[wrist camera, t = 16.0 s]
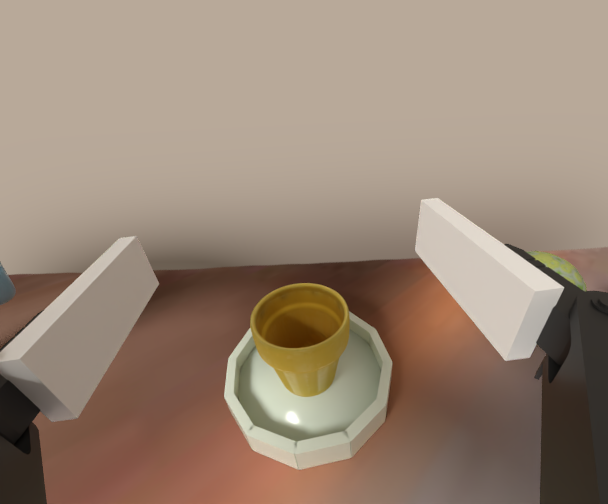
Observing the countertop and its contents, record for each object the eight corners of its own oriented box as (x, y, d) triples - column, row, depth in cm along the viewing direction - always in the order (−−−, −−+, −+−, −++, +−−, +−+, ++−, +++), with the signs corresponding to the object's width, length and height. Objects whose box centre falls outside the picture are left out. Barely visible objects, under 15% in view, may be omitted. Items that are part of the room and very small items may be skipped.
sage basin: (198, 427, 31) (189, 412, 29) (275, 310, 45) (272, 296, 44) (374, 501, 23) (374, 486, 22) (397, 334, 38) (398, 319, 37)
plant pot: (323, 327, 40) (316, 271, 35) (369, 383, 32) (370, 320, 27) (255, 360, 36) (237, 303, 31) (288, 433, 28) (271, 371, 23)
